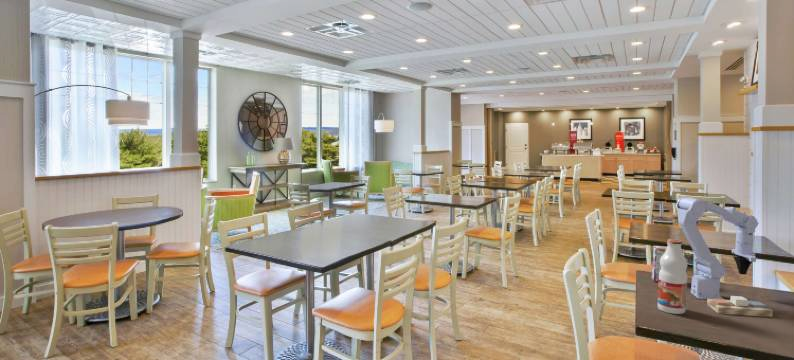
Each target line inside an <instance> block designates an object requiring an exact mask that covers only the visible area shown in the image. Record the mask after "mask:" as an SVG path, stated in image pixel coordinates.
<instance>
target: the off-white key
mask: <svg viewBox="0 0 794 360" xmlns="http://www.w3.org/2000/svg"><path fill="white" fill-rule="evenodd" d="M729 300H730V302H731V303H732V304H734V305H735V306H748V301H749V300H748V299H747V298H746V297H744V296H741V295H739V296H736V295H730V299H729Z"/></svg>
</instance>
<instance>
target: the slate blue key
mask: <svg viewBox="0 0 794 360" xmlns="http://www.w3.org/2000/svg"><path fill="white" fill-rule="evenodd" d="M748 304H749V305H750V306H752V307H754V308H766V307H767V304H765V303H763V302H761V301H759V300H758V301H755V300H748Z"/></svg>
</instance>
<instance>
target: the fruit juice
mask: <svg viewBox="0 0 794 360" xmlns="http://www.w3.org/2000/svg"><path fill="white" fill-rule="evenodd" d="M666 244H667V246H666V247H667V249H666V251H665V253H664V254H663V255H662V257H661V258H660V265H661V270H660V271H659V282H657V285H658V288H657V308H658V310H659V311H661V312H665V313H668V314H673V315H682V314H685V312H686V310H687V307H686V306H687V289H688V274H687V268H688V260H687V258H686V257H685V255H684V254H683V253H682V250H683V249H682V244H683V241H682V240H681V239H676V238H667V240H666ZM681 249H682V250H681Z"/></svg>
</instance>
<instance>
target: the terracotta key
mask: <svg viewBox="0 0 794 360" xmlns="http://www.w3.org/2000/svg"><path fill="white" fill-rule="evenodd" d="M726 300H727V299H724V298H723V299H713V302H714V303H715V304H716V305H722V306H730V303H729V302H728V301H726Z"/></svg>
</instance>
